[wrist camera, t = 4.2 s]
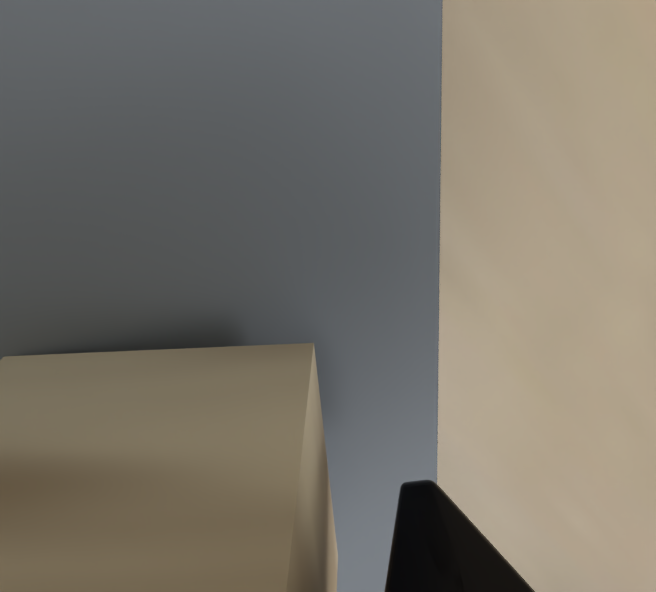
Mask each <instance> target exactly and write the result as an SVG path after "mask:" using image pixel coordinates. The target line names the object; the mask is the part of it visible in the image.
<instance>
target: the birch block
mask: <svg viewBox="0 0 656 592" xmlns="http://www.w3.org/2000/svg"><path fill="white" fill-rule="evenodd" d="M337 569H338V552H337V543H336V534H335V525H334V516H333V508H332V499H331V490H330V481H329V472H328V464H327V455H326V446H325V437H324V428H323V419H322V411H321V402H320V393H319V384H318V375H317V367H316V358H315V349H314V343H300V344H277V345H254V346H231V347H208V348H185V349H162V350H139V351H116V352H93V353H70V354H47V355H24V356H6V357H3V358H2V359H1V360H0V592H337Z"/></svg>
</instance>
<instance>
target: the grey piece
mask: <svg viewBox="0 0 656 592" xmlns="http://www.w3.org/2000/svg"><path fill="white" fill-rule="evenodd" d="M441 79H442V0H0V360H1V359H2V358H3V357H6V356H24V355H47V354H70V353H93V352H116V351H139V350H162V349H185V348H208V347H231V346H254V345H277V344H300V343H314V349H315V358H316V367H317V375H318V384H319V393H320V402H321V411H322V419H323V428H324V437H325V446H326V455H327V464H328V472H329V481H330V490H331V499H332V508H333V516H334V525H335V534H336V543H337V552H338V569H337V592H384V591H385V584H386V578H387V571H388V565H389V558H390V551H391V545H392V538H393V531H394V525H395V518H396V512H397V505H398V498H399V492H400V487H401V485H402V484H403V483H404V482H410V481H418V480H432V481H434V482H435V483H436V484H437V428H438V341H439V253H440V166H441Z"/></svg>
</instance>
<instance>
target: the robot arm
mask: <svg viewBox="0 0 656 592" xmlns="http://www.w3.org/2000/svg"><path fill="white" fill-rule="evenodd" d="M384 592H535V591H534V590H533V589H532V588H531V587H530V586H529V585H528V583H527V582H526V581H525V580H524V579H523V578H522V577H521V576H520V575H519V574H518V573H517V571H516V570H515V569H514V568H513V567H512V566H511V565H510V564H509V563H508V562H507V560H506V559H505V558H504V557H503V556H502V555H501V554H500V553H499V552H498V551H497V549H496V548H495V547H494V546H493V545H492V544H491V543H490V542H489V541H488V540H487V539H486V537H485V536H484V535H483V534H482V533H481V532H480V531H479V530H478V529H477V528H476V526H475V525H474V524H473V523H472V522H471V521H470V520H469V519H468V518H467V517H466V515H465V514H464V513H463V512H462V511H461V510H460V509H459V508H458V507H457V506H456V505H455V503H454V502H453V501H452V500H451V499H450V498H449V497H448V496H447V495H446V494H445V492H444V491H443V490H442V489H441V488H440V487H439V486H438V485H437V484H436V483H435V482H434V481H432V480H418V481H410V482H404V483H403V484H402V485H401V487H400V492H399V498H398V505H397V512H396V518H395V525H394V531H393V538H392V545H391V551H390V558H389V565H388V571H387V578H386V584H385V591H384Z"/></svg>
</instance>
